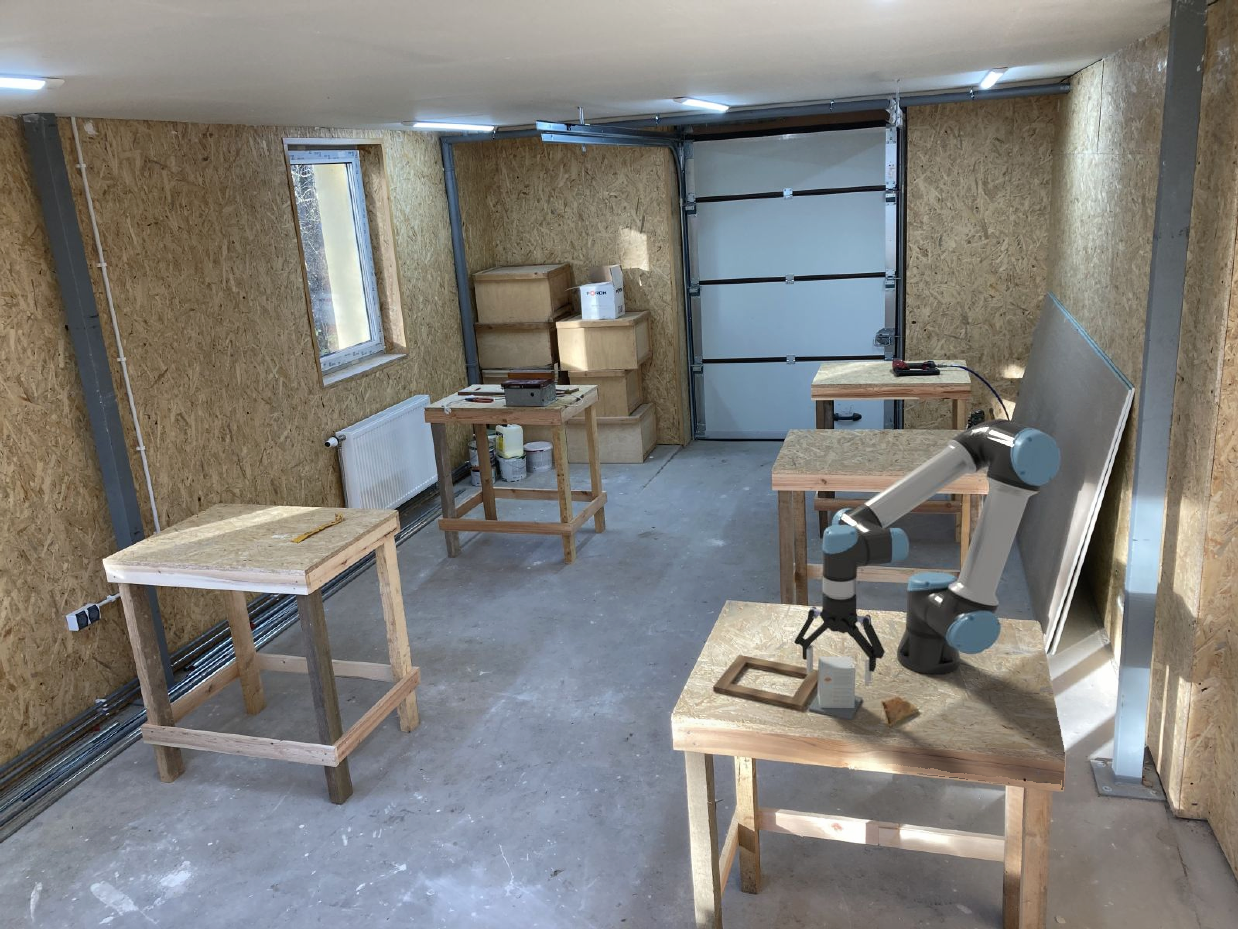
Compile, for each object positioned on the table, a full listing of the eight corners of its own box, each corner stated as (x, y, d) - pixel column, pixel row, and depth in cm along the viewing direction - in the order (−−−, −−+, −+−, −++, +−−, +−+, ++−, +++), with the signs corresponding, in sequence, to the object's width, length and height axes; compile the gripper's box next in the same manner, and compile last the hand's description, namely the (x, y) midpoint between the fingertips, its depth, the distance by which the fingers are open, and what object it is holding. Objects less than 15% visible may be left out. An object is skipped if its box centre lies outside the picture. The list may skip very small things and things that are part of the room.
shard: (888, 730, 211) (889, 723, 210) (861, 716, 217) (862, 709, 216) (919, 714, 217) (920, 707, 216) (892, 700, 223) (893, 694, 222)
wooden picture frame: (822, 675, 235) (822, 671, 234) (801, 710, 219) (801, 705, 219) (739, 659, 244) (739, 654, 244) (713, 690, 229) (713, 686, 229)
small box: (851, 697, 223) (853, 656, 220) (854, 709, 218) (856, 668, 215) (816, 696, 224) (818, 655, 221) (819, 708, 219) (820, 667, 216)
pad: (862, 699, 223) (862, 697, 223) (851, 720, 214) (851, 717, 214) (820, 690, 227) (820, 688, 227) (808, 710, 219) (808, 708, 219)
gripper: (899, 594, 211) (896, 679, 217) (790, 579, 222) (791, 660, 228) (892, 607, 204) (889, 695, 210) (781, 591, 216) (781, 674, 222)
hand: (838, 677), depth 219 cm, fingers open, 13 cm apart
